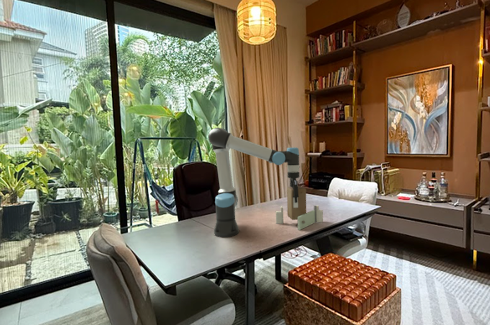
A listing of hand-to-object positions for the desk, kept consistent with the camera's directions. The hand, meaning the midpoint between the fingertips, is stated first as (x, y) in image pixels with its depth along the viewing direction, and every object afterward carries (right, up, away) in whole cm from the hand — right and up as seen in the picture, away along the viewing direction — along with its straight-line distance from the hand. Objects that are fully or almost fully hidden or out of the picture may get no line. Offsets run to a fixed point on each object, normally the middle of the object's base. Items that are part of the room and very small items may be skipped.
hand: (294, 205), depth 172 cm
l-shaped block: (+4, -12, +5) cm, 14 cm away
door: (+8, -13, -4) cm, 15 cm away
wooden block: (+2, -9, +1) cm, 9 cm away
